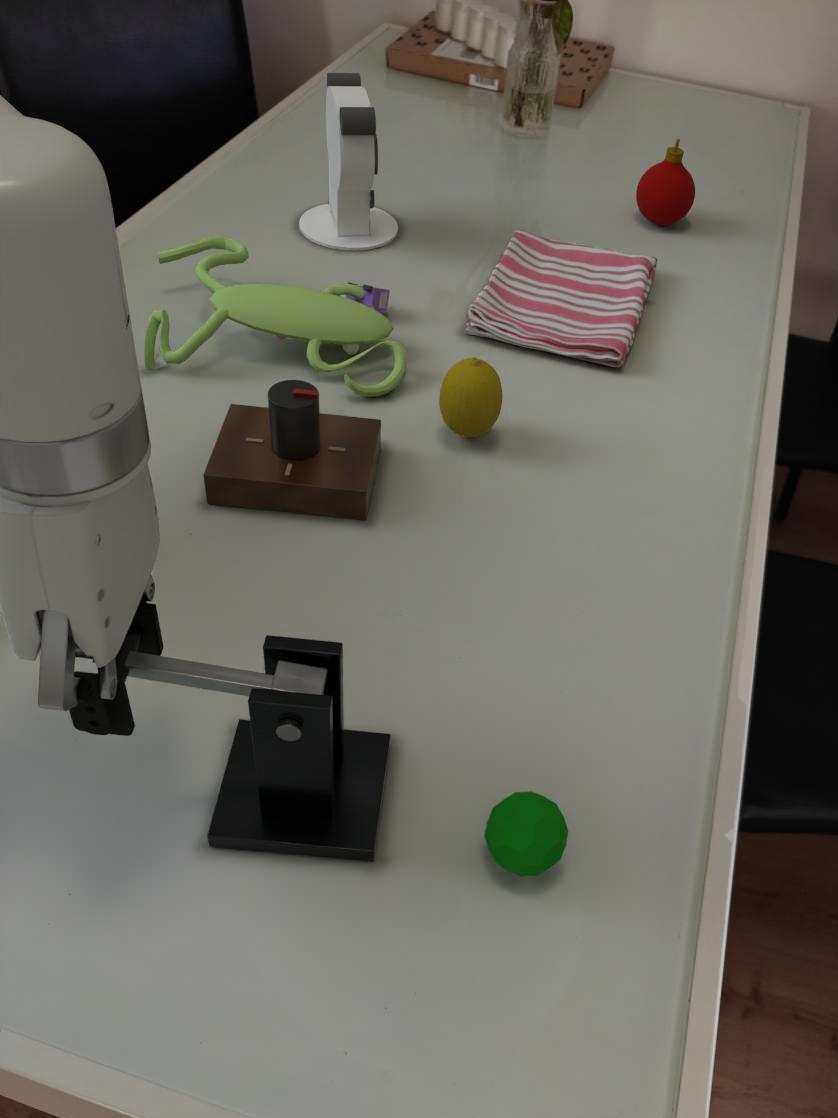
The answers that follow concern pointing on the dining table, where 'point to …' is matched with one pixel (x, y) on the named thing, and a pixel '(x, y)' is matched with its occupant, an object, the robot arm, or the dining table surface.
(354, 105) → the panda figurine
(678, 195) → the christmas ornament
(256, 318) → the figurine
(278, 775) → the black lever base
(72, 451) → the robot arm
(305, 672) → the tap lever
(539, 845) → the polyhedron
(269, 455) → the panel
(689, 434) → the dining table surface
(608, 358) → the dish towel
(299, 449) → the valve knob
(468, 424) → the lemon
